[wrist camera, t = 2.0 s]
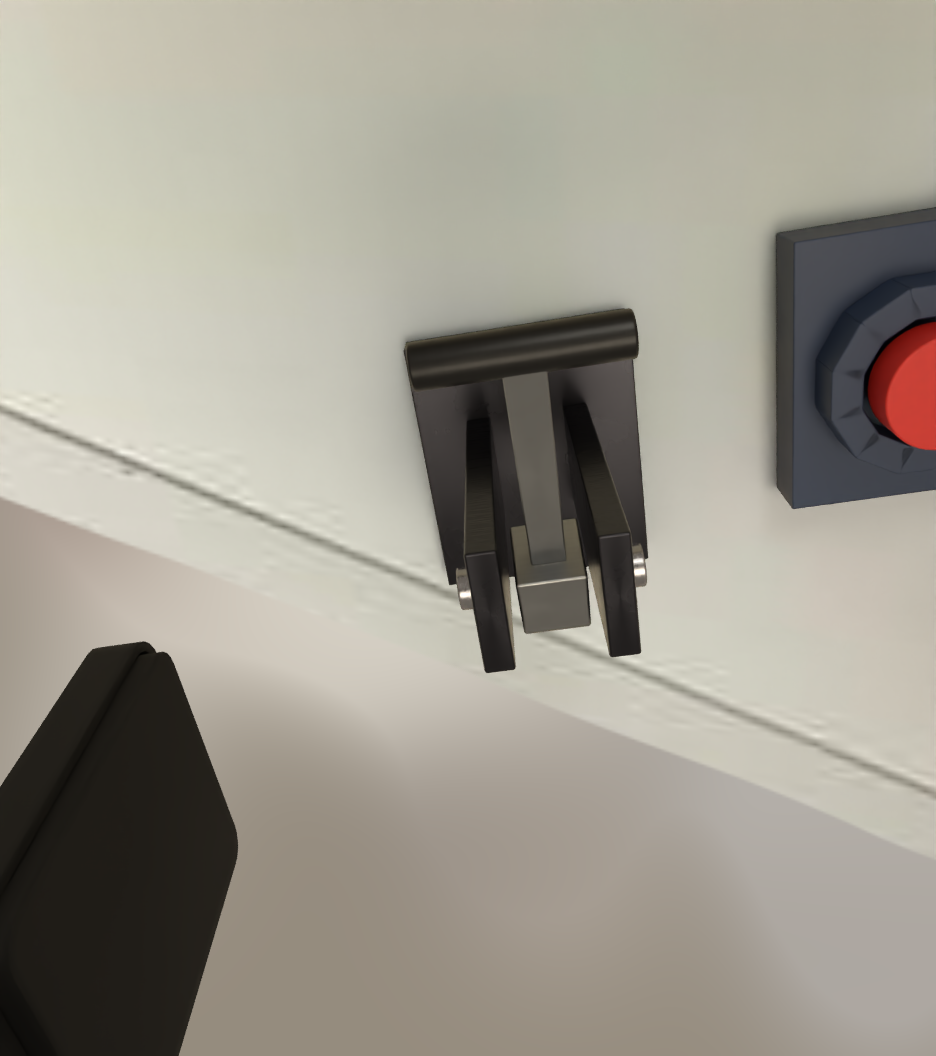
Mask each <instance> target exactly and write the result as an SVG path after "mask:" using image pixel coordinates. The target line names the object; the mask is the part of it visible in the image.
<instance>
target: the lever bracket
mask: <svg viewBox="0 0 936 1056" xmlns="http://www.w3.org/2000/svg"><path fill="white" fill-rule="evenodd" d="M617 310H622V309H617ZM611 311H616V310H611ZM604 312H609V311H604ZM598 313H603V312H598ZM592 314H596V313H592ZM585 315H590V314H585ZM579 316H584V315H579ZM572 317H577V316H572ZM566 318H571V317H566ZM560 319H564V318H560ZM553 320H558V319H553ZM547 321H551V320H547ZM540 322H545V321H540ZM534 323H539V322H534ZM527 324H532V323H527ZM521 325H526V324H521ZM515 326H519V325H515ZM508 327H513V326H508ZM502 328H507V327H502ZM495 329H500V328H495ZM489 330H494V329H489ZM483 331H487V330H483ZM476 332H481V331H476ZM470 333H474V332H470ZM463 334H468V333H463ZM457 335H462V334H457ZM450 336H455V335H450ZM444 337H449V336H444ZM438 338H442V337H438ZM431 339H436V338H431ZM425 340H430V339H425ZM418 341H423V340H418ZM412 342H417V341H412ZM408 343H410V342H406V344H405V348H404V355H405V360H406V365H407V358H406V346H407V344H408ZM407 371H408V366H407ZM547 374H548V383H549V393H550V403H551V413H552V422H553V432H554V442H555V452H556V461H557V471H558V481H559V491H560V501H561V510H562V520H566V519H573V518H575V519H577V521H578V526H579V531H580V537H581V542H582V548H583V554H584V559H585V565H586V567H587V566H589V569H590V573H591V578H592V582H593V586H594V591H595V595H596V599H597V603H598V608H599V612H600V616H601V620H602V625H603V629H604V633H605V638H606V642H607V646H608V650H609V655H610V656H611V657H618V656H626V655H634V654H640V653H641V643H640V631H639V620H638V608H637V597H636V587H643V586H646V584H647V573H646V564H645V559H647V558H648V549H647V536H646V523H645V510H644V497H643V484H642V471H641V458H640V446H639V433H638V420H637V407H636V394H635V381H634V368H633V359H630V360H624V361H617V362H610V363H604V364H597V365H591V366H584V367H577V368H571V369H564V370H558V371H551V372H547ZM408 376H409V372H408ZM409 381H410V377H409ZM410 386H411V391H412V396H413V401H414V407H415V412H416V417H417V422H418V427H419V432H420V437H421V442H422V448H423V453H424V458H425V463H426V468H427V473H428V478H429V483H430V489H431V494H432V499H433V504H434V509H435V514H436V519H437V525H438V530H439V535H440V540H441V545H442V550H443V555H444V560H445V566H446V571H447V576H448V581H449V585H454V584H457V589H458V596H459V601H460V605H461V608H462V610H469V609H473V610H474V615H475V621H476V626H477V632H478V637H479V642H480V648H481V653H482V659H483V664H484V670H485V672H486V673H491V672H499V671H507V670H514V669H515V667H516V665H515V651H514V637H513V623H512V609H511V594H510V580H509V577H513V576H515V573H514V565H513V556H512V547H511V538H510V528H511V527H515V526H523V525H525V521H524V515H523V508H522V502H521V495H520V489H519V482H518V476H517V469H516V463H515V456H514V450H513V443H512V437H511V431H510V424H509V418H508V411H507V405H506V398H505V392H504V385H503V379H498V380H491V381H485V382H478V383H472V384H465V385H458V386H452V387H445V388H439V389H432V390H425V391H419V392H416V391H414V389H413V388H412V385H411V381H410Z"/></svg>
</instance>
